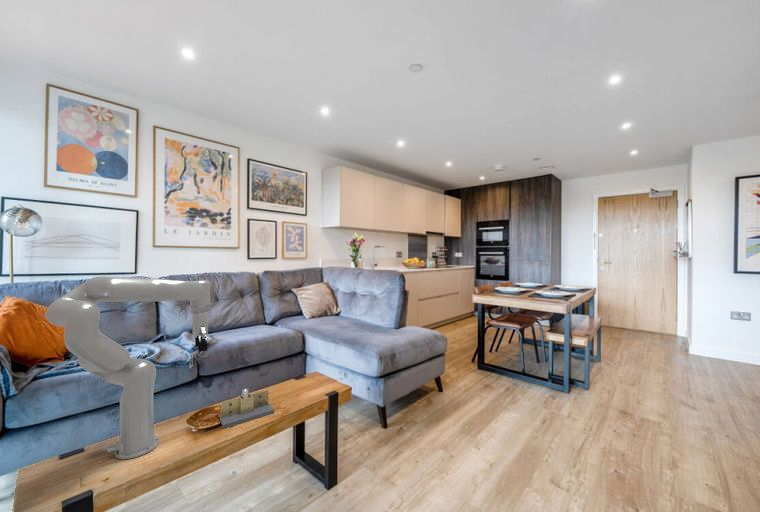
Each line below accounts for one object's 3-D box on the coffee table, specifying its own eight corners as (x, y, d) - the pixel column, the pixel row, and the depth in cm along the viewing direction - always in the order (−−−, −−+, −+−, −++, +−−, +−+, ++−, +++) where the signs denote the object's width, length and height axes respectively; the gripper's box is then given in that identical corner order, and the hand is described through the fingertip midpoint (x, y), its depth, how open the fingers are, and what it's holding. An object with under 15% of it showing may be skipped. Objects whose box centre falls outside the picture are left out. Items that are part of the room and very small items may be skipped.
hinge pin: (243, 412, 135) (243, 391, 135) (241, 410, 137) (241, 389, 137) (249, 410, 136) (248, 389, 137) (247, 408, 138) (247, 387, 138)
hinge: (222, 419, 129) (222, 405, 129) (219, 415, 133) (219, 400, 133) (269, 406, 140) (269, 392, 140) (266, 401, 145) (266, 388, 145)
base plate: (223, 428, 125) (223, 424, 125) (216, 414, 136) (216, 411, 136) (274, 413, 137) (274, 409, 137) (264, 401, 148) (264, 398, 148)
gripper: (188, 307, 142) (188, 345, 142) (193, 312, 128) (193, 354, 128) (207, 305, 147) (207, 342, 147) (213, 310, 133) (214, 351, 133)
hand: (201, 348), depth 137 cm, fingers open, 9 cm apart
